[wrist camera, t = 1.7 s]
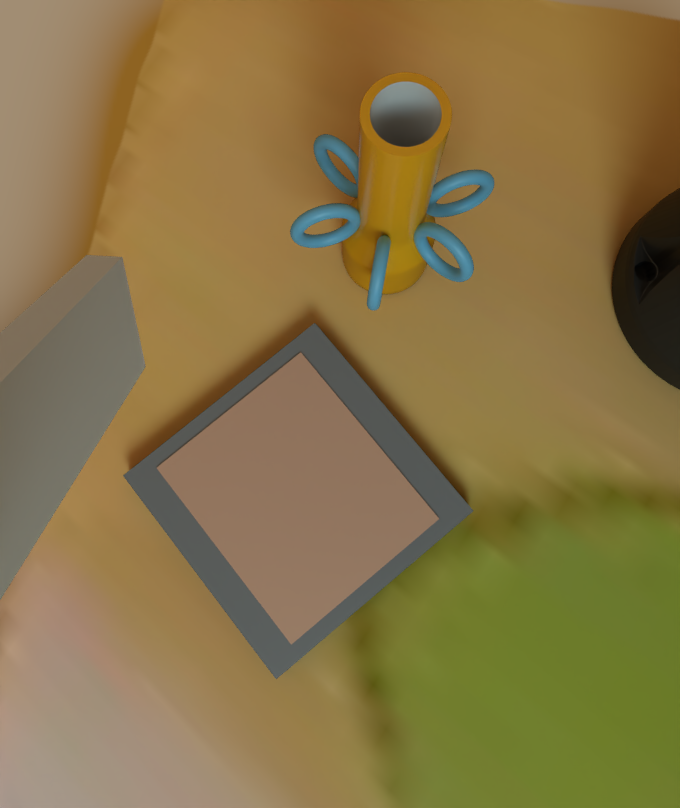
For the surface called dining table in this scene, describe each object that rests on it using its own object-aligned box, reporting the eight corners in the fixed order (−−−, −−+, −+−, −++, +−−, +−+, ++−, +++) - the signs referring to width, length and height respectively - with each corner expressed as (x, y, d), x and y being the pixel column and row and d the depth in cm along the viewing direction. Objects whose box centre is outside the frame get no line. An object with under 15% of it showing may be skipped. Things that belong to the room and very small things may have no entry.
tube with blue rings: (270, 252, 39) (221, 110, 24) (369, 151, 40) (380, -46, 25) (399, 366, 38) (431, 290, 23) (499, 259, 39) (591, 118, 24)
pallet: (315, 327, 38) (314, 322, 37) (469, 509, 36) (473, 510, 35) (130, 475, 37) (122, 475, 36) (278, 672, 35) (275, 679, 34)
